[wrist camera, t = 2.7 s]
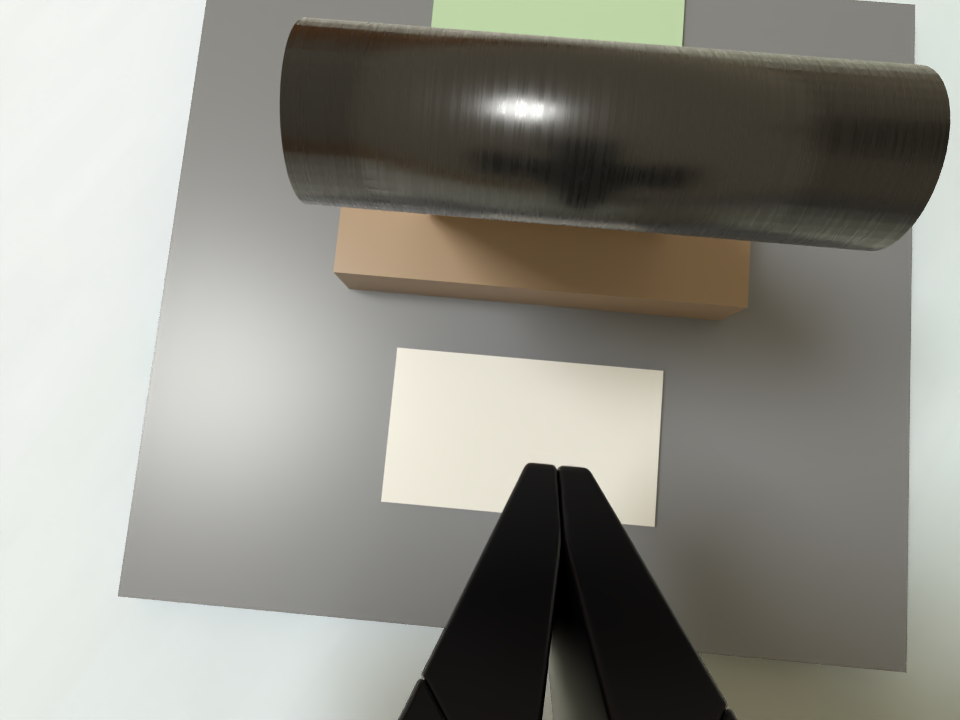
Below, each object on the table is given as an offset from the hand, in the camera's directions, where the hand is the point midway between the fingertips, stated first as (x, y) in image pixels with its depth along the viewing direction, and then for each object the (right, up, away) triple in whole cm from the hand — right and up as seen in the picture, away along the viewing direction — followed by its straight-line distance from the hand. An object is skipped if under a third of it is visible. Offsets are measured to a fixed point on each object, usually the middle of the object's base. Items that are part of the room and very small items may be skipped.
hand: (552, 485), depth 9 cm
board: (0, +4, +10) cm, 10 cm away
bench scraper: (+1, +6, +7) cm, 9 cm away
